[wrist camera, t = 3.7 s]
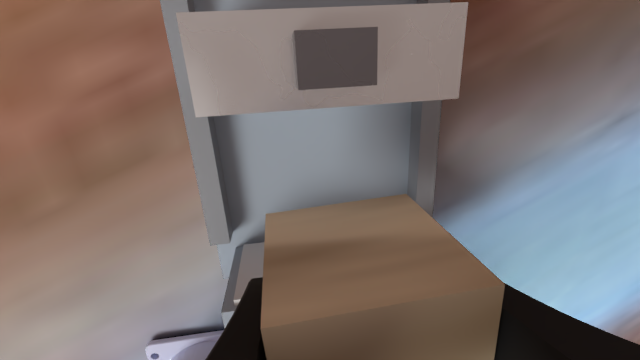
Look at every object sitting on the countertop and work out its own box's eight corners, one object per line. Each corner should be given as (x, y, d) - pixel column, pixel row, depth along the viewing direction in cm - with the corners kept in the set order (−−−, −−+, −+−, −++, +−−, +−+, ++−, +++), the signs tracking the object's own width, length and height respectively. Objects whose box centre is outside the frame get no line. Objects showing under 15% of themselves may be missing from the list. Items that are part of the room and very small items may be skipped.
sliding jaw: (405, 89, 15) (475, 101, 10) (220, 102, 14) (187, 122, 9) (408, 22, 14) (488, -5, 9) (209, 31, 13) (163, 5, 8)
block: (405, 285, 12) (485, 414, 8) (281, 307, 12) (287, 460, 7) (406, 193, 11) (505, 284, 6) (265, 214, 10) (260, 329, 6)
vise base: (409, 241, 21) (465, 312, 15) (227, 263, 19) (205, 352, 13) (424, -18, 15) (519, -74, 9) (175, -11, 14) (101, -71, 8)
